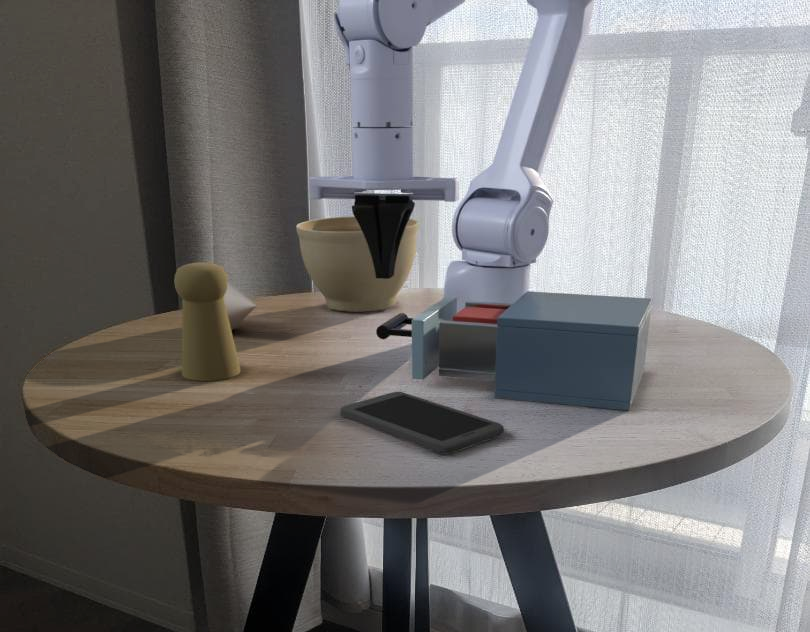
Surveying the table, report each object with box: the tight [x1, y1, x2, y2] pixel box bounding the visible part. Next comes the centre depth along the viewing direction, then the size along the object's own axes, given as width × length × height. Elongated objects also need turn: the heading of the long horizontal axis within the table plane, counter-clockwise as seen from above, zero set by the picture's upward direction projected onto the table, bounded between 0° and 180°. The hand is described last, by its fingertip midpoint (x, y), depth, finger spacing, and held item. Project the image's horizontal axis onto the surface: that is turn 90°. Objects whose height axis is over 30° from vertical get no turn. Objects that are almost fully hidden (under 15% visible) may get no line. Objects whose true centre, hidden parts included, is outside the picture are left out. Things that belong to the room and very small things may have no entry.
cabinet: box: [494, 290, 653, 411], centre depth 84 cm, size 13×13×8 cm
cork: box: [173, 261, 241, 382], centre depth 88 cm, size 6×6×11 cm
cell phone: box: [339, 391, 505, 454], centre depth 75 cm, size 7×14×1 cm, turn 42°
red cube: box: [453, 307, 507, 324], centre depth 87 cm, size 4×4×4 cm
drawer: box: [375, 296, 512, 382], centre depth 87 cm, size 16×11×6 cm
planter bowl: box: [295, 215, 420, 313], centre depth 117 cm, size 16×16×11 cm
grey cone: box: [224, 281, 257, 331], centre depth 105 cm, size 6×6×15 cm
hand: (385, 276), depth 87 cm, fingers closed
